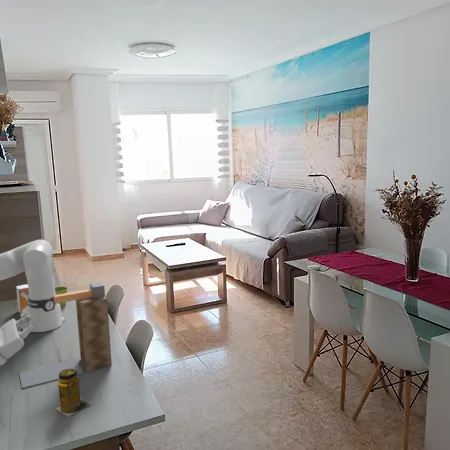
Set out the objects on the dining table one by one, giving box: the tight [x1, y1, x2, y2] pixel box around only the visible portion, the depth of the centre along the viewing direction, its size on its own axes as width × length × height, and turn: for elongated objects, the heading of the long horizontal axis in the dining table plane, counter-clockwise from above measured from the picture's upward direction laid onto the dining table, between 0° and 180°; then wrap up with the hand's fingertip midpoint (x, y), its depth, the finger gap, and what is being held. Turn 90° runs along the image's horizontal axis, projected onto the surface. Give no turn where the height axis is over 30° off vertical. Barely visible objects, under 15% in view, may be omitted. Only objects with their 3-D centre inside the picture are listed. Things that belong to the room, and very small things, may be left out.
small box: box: [15, 283, 29, 315], centre depth 220 cm, size 8×6×13 cm
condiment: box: [54, 369, 92, 418], centre depth 138 cm, size 7×8×12 cm
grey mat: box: [18, 358, 84, 390], centre depth 159 cm, size 20×12×1 cm, turn 119°
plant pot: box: [55, 286, 69, 308], centre depth 227 cm, size 9×9×9 cm
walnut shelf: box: [75, 295, 113, 372], centre depth 165 cm, size 9×11×26 cm
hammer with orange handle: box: [54, 281, 106, 304], centre depth 160 cm, size 17×5×4 cm, turn 119°
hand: (31, 321), depth 153 cm, fingers open, 8 cm apart
